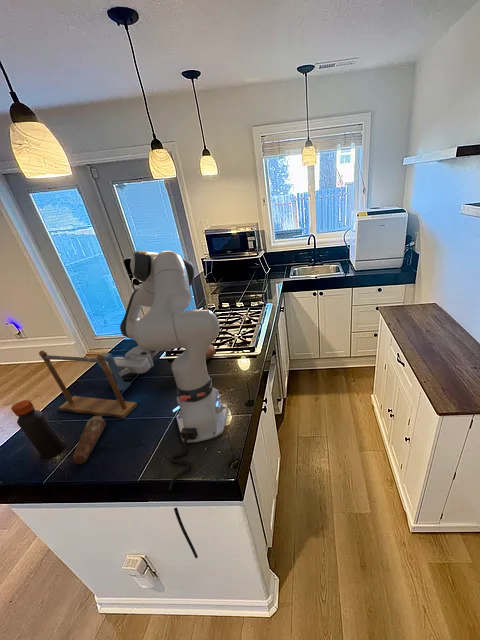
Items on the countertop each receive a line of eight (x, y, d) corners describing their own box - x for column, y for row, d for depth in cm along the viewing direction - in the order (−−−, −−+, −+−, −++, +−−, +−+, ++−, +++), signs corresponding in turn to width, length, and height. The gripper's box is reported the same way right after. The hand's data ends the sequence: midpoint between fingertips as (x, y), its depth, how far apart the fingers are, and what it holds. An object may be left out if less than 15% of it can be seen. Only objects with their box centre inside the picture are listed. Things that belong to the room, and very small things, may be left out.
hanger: (121, 383, 140) (107, 351, 131) (131, 384, 138) (117, 351, 129) (109, 393, 134) (93, 360, 125) (120, 394, 132) (104, 360, 123)
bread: (110, 425, 115) (103, 413, 112) (89, 465, 100) (81, 452, 96) (92, 428, 115) (85, 416, 112) (68, 468, 99) (60, 455, 96)
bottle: (69, 445, 108) (39, 399, 97) (52, 460, 103) (18, 412, 91) (54, 443, 110) (22, 397, 99) (37, 457, 104) (1, 410, 93)
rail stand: (137, 405, 125) (113, 349, 111) (124, 418, 118) (96, 360, 105) (75, 398, 133) (45, 345, 119) (60, 410, 126) (26, 355, 112)
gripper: (114, 351, 144) (92, 367, 133) (152, 353, 139) (132, 369, 128) (119, 363, 148) (98, 379, 137) (157, 365, 143) (138, 382, 132)
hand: (115, 374), depth 132 cm, fingers closed on hanger, 2 cm apart
